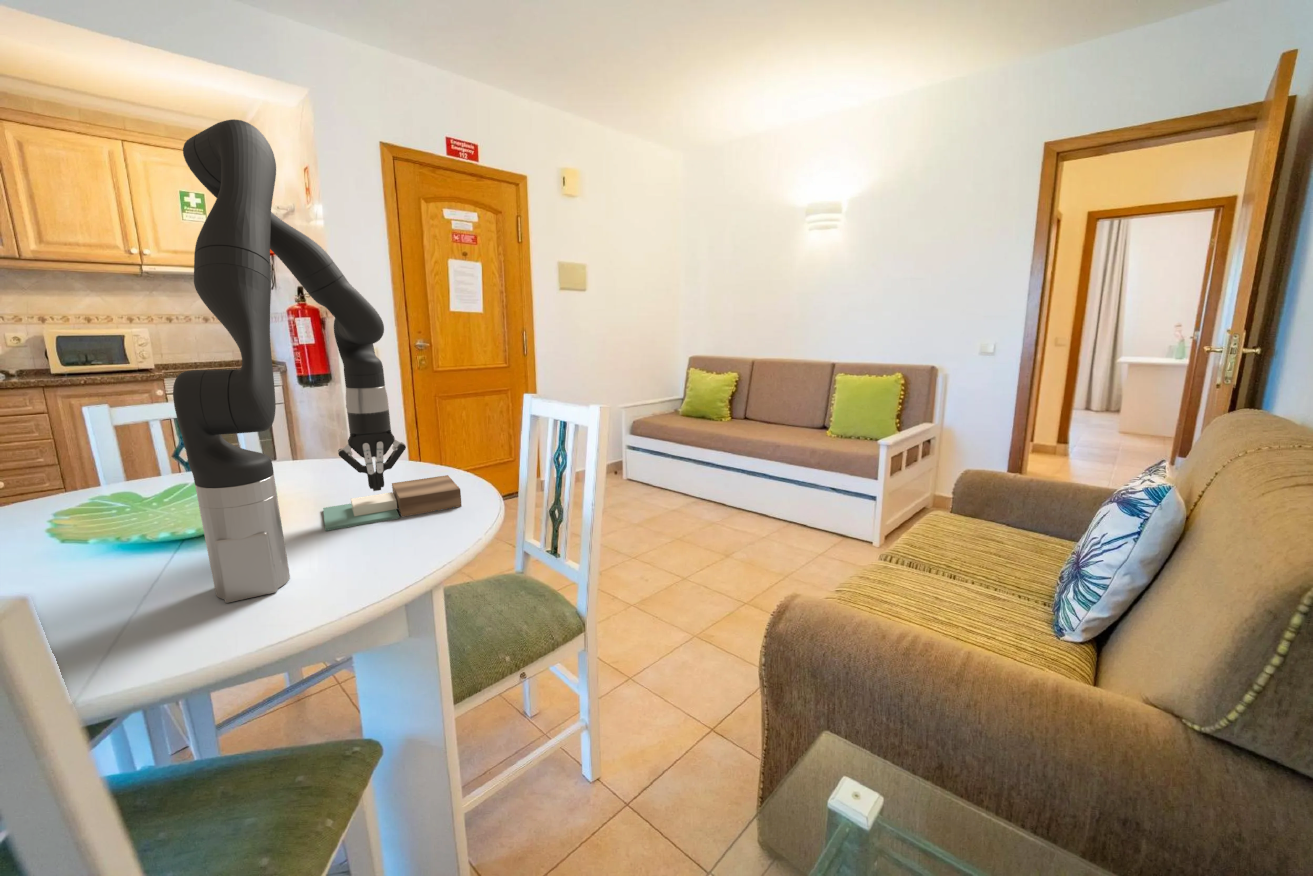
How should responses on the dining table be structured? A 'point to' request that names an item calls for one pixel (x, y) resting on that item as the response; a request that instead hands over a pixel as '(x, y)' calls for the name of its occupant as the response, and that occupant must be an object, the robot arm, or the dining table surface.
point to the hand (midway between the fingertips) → (377, 489)
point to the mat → (352, 517)
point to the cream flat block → (373, 504)
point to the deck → (426, 495)
